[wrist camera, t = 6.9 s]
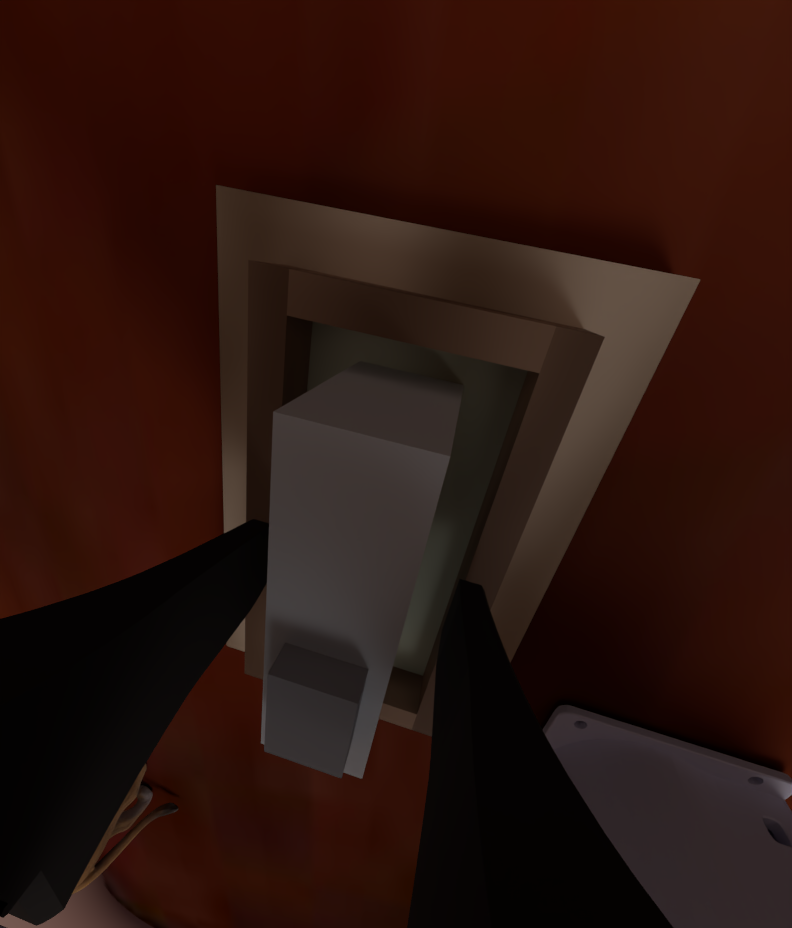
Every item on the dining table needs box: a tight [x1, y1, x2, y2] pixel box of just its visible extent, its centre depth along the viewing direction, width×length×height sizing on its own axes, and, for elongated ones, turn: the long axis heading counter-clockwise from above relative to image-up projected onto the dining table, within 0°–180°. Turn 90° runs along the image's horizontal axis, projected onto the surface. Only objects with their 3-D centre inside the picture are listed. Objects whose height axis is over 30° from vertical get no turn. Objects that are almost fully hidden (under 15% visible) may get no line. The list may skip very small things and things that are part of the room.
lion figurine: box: [72, 763, 178, 894], centre depth 24 cm, size 15×5×9 cm, turn 48°
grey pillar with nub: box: [261, 361, 464, 779], centre depth 10 cm, size 3×10×6 cm, turn 170°
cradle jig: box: [216, 185, 700, 736], centre depth 13 cm, size 12×18×3 cm, turn 169°
